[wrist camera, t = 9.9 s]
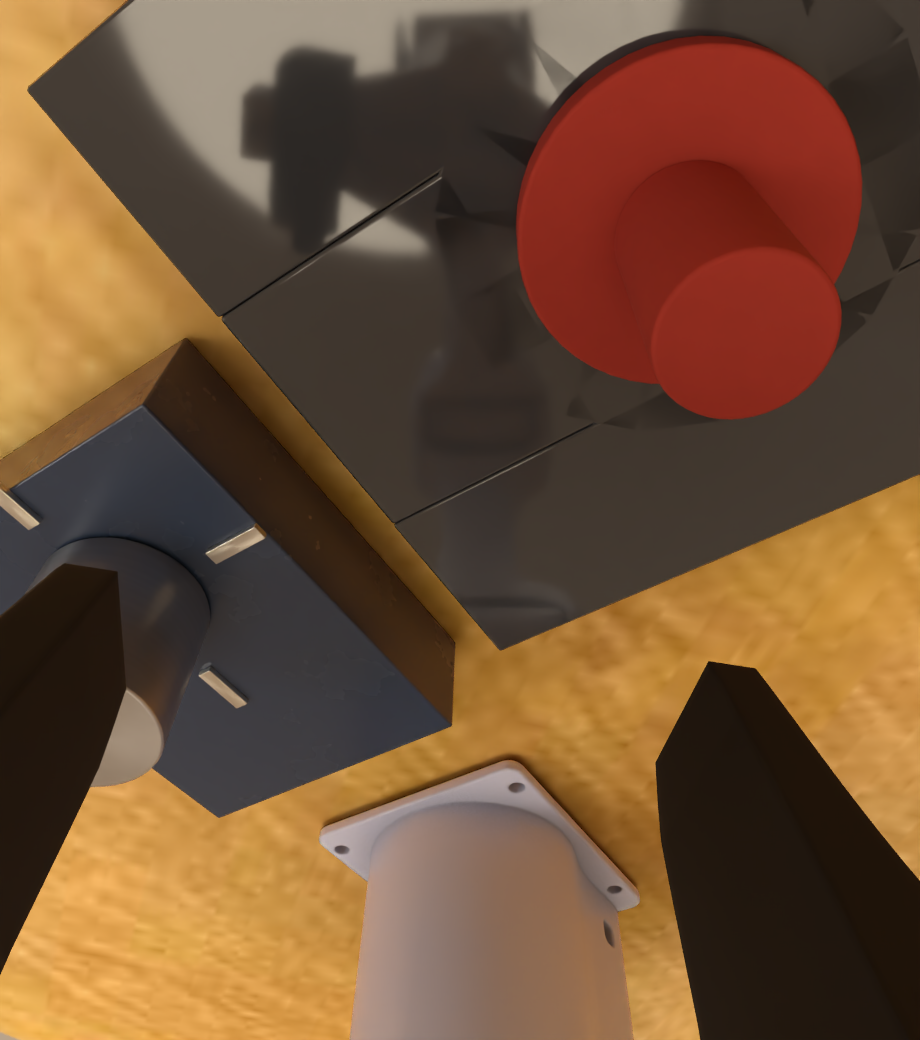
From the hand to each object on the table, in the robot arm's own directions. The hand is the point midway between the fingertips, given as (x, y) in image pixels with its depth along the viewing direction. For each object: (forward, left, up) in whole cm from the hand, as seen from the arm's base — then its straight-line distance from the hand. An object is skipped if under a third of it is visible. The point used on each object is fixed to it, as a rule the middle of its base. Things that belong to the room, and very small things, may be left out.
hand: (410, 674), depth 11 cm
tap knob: (-1, +9, -7) cm, 11 cm away
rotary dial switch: (-3, +9, -10) cm, 14 cm away
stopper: (0, -5, -10) cm, 11 cm away
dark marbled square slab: (0, -4, -10) cm, 11 cm away
